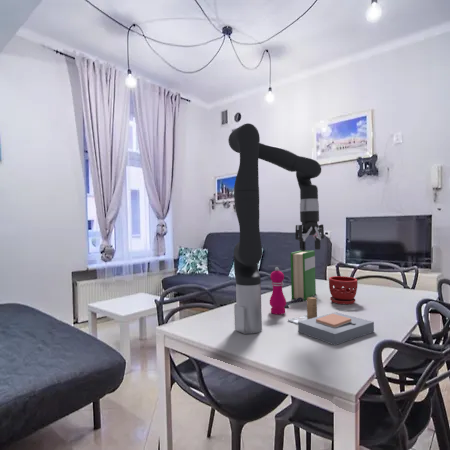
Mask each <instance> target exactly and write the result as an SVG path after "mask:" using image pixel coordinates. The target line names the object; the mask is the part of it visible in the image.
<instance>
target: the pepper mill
mask: <svg viewBox="0 0 450 450" xmlns="http://www.w3.org/2000/svg"><path fill="white" fill-rule="evenodd" d="M269 278H270V280H271V286H272V293H271V296H270V298H269V306H271V308H270V313H271V314H273V315H284V314H285V313H286V308H284V307H285V305H286V302H287V300H286V298H285V297H286V296H285V295H284V292H283V286H284V282H283V281H284V279H285V274H284V273H283V272H282V271H281V270H280V269H279V267H278V266H276V267H275V268H274V271H272V272H271V273H270V276H269Z"/></svg>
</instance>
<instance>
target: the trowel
mask: <svg viewBox="0 0 450 450" xmlns="http://www.w3.org/2000/svg"><path fill="white" fill-rule="evenodd" d="M317 300H318V299H317V298H316V297H313V296H312V297H308V298H307V300H306V314H307V315H303V316H298V317H294V318H290V319H287V322H289V323H291V324H296V325H298V322H299V321H303V320H307V319H311V318H315V317H319V316H320V315H318V307H317V305H318V302H317Z"/></svg>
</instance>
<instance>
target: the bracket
mask: <svg viewBox="0 0 450 450" xmlns="http://www.w3.org/2000/svg"><path fill="white" fill-rule="evenodd" d="M298 303H304V299H303V298H301V297H299V298H295V299H291V300H289V301H286V305H285V307H284V308H285V309H287V308H288V309H289V308H290V305H291V304H298Z"/></svg>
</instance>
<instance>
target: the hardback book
mask: <svg viewBox="0 0 450 450" xmlns="http://www.w3.org/2000/svg"><path fill="white" fill-rule="evenodd" d="M290 284H291V285H290V287H291V288H290V289H291V292H290V293H291V300H295V299H297V298H299V297H301V298H303V302H307V298H308V297H313V296H315V295H316V293H317V289H316V285H317V284H316V250H309V249H307V250H305V251H301V250H298V251H294V252H293V251H292V252H290Z"/></svg>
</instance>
